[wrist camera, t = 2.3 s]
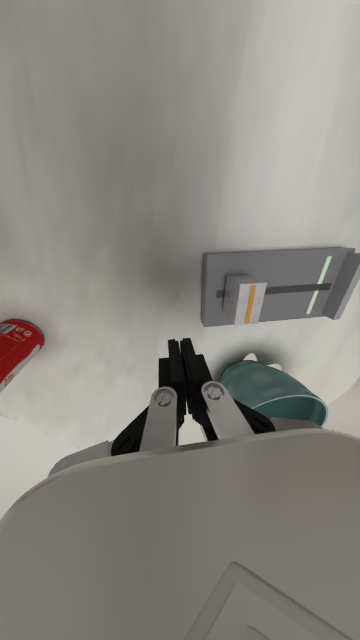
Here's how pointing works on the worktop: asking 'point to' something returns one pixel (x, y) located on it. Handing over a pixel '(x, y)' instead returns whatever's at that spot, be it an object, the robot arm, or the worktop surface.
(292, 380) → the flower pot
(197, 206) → the worktop surface
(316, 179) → the worktop surface
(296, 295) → the fader console
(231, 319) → the fader knob
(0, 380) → the beverage can
